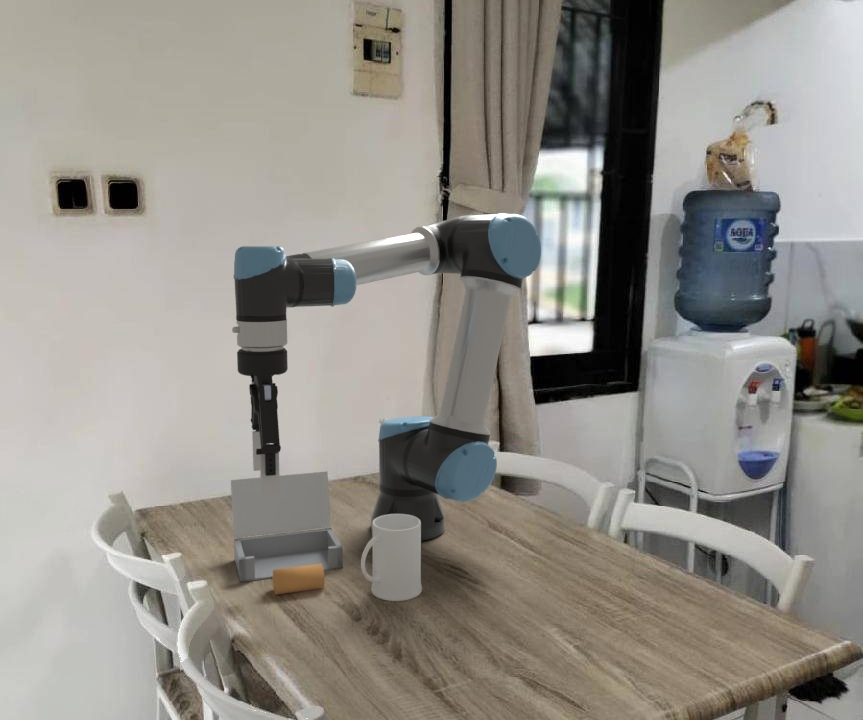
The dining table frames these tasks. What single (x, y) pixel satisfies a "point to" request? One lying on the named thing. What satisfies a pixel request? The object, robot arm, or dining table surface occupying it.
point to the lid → (281, 505)
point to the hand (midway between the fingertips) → (266, 481)
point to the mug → (395, 557)
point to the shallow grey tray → (286, 552)
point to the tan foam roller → (298, 579)
